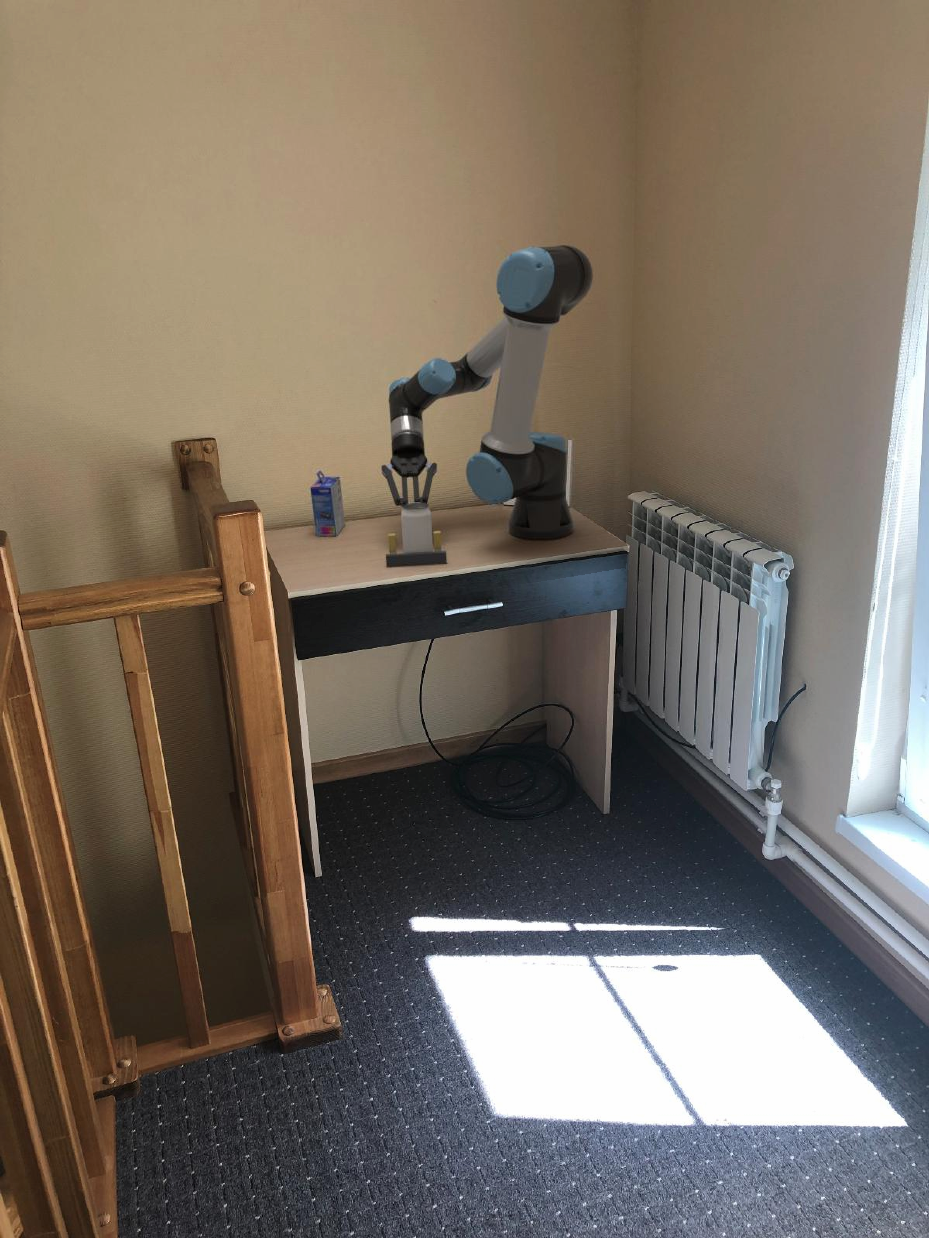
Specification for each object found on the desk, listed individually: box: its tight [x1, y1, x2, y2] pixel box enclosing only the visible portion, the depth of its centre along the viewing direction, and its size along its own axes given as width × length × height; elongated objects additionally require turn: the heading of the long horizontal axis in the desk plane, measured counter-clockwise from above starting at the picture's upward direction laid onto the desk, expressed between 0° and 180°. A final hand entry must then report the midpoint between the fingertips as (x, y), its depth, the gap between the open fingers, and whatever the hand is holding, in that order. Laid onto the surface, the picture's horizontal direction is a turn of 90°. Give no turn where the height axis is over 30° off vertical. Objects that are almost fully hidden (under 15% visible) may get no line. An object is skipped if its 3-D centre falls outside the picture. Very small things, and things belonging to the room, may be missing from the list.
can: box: [400, 502, 434, 553], centre depth 223 cm, size 6×6×12 cm
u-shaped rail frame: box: [385, 530, 448, 568], centre depth 229 cm, size 13×19×5 cm
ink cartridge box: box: [309, 470, 346, 537], centre depth 246 cm, size 10×6×14 cm, turn 174°
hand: (412, 531), depth 227 cm, fingers closed
